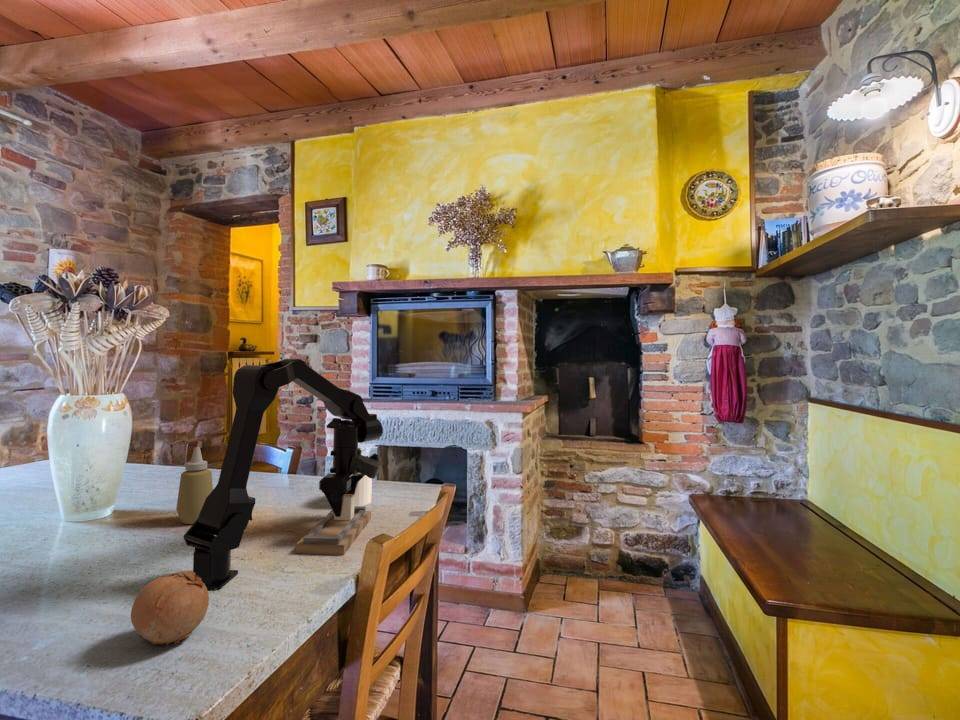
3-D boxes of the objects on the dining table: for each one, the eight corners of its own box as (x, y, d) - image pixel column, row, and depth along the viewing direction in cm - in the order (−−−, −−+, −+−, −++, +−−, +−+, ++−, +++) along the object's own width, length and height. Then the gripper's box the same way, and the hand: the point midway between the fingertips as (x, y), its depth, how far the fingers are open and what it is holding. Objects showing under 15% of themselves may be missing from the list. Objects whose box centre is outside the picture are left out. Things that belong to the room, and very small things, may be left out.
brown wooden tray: (344, 554, 98) (344, 539, 98) (296, 553, 99) (296, 537, 99) (371, 519, 120) (371, 506, 120) (331, 517, 121) (332, 505, 121)
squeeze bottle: (168, 522, 115) (170, 448, 115) (201, 513, 122) (203, 443, 122) (188, 528, 111) (190, 451, 111) (221, 519, 118) (223, 446, 118)
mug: (376, 505, 132) (377, 468, 132) (340, 510, 127) (341, 472, 127) (361, 493, 143) (362, 459, 143) (327, 498, 137) (328, 462, 137)
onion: (197, 644, 72) (231, 577, 75) (168, 666, 63) (208, 588, 66) (137, 622, 72) (174, 555, 75) (99, 640, 63) (142, 563, 66)
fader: (350, 520, 113) (351, 497, 113) (333, 520, 113) (334, 496, 113) (354, 516, 116) (354, 493, 116) (337, 515, 116) (338, 493, 116)
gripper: (369, 454, 105) (367, 524, 105) (387, 440, 124) (386, 499, 124) (319, 452, 105) (317, 523, 105) (344, 438, 124) (343, 498, 124)
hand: (344, 510), depth 114 cm, fingers open, 9 cm apart
